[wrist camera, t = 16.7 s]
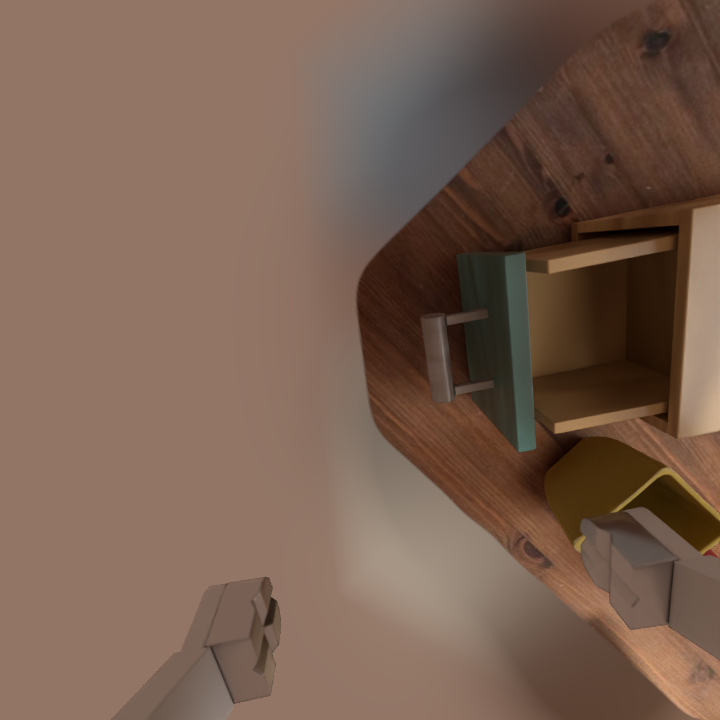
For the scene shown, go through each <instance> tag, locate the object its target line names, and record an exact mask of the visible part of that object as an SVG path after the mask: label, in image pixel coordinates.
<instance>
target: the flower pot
mask: <svg viewBox="0 0 720 720" xmlns="http://www.w3.org/2000/svg"><path fill="white" fill-rule="evenodd" d="M544 489H545V495H546V499H547V501H548V504H549V506H550V508H551V510H552V511H553V513H554V515H555V517H556V518H557V520H558V522H559V523H560V525H561V527H562V528H563V530H564V532H565V533H566V535H567V537H568V539H569V540H570V542H571V544H572V545H573V547H574V549H576V550H577V551H578V552H579V553H581V548H580V545H581V544H582V542H583V541H584V539H585V538H586V537H585V536H584V535H583V534H582V533H581V531H580V523H581V521H582V519H583V518H587V517H592V516H598V515H603V514H608V513H613V512H618V511H623V510H628V509H633V508H638V507H643V508H646V509H648V510H649V511H651V512H652V513H653V514H654V515H655V516H657V517H658V518H659V519H660V520H661V521H663V522H664V523H665V524H666V525H667V526H669V527H670V528H671V529H672V530H673V531H675V532H676V533H677V534H678V535H679V536H681V537H682V538H683V539H684V540H685V541H687V542H688V543H689V544H690V545H691V546H692V547H694V548H695V549H696V550H697V551H698V552H700V553H701V554H702V555H703V554H704V553H705V552H706V551H708V550H709V549H710V548H712V547H713V546H714V545H716V544H717V543H718V542H719V541H720V514H719V513H718V512H717V511H716V510H715V509H713V508H712V507H711V506H710V505H709V504H708V503H707V502H706V501H705V500H704V499H703V498H702V497H701V496H700V495H698V494H697V493H696V492H695V491H694V490H693V489H692V488H691V487H690V486H689V485H688V484H687V483H686V482H685V481H684V480H683V479H682V478H681V477H680V476H679V475H678V474H677V473H676V472H674V471H673V470H672V469H671V468H669V467H668V466H666V465H664V464H662V463H660V462H659V461H657V460H655V459H653V458H651V457H649V456H647V455H645V454H643V453H642V452H640V451H638V450H636V449H634V448H632V447H630V446H628V445H627V444H624V443H622V442H620V441H618V440H615V439H611V438H607V437H588V438H584V439H582V440H581V441H579V442H578V443H577V444H576V445H575V446H574V447H573V448H572V449H571V450H570V451H569V452H568V453H567V454H565V455H564V456H563V457H562V458H561V459H560V460H559V461H558V462H556V463H555V464H554V465H553V466H552V467H551V468H550V469H548V471H547V472H546V475H545V480H544Z"/></svg>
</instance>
